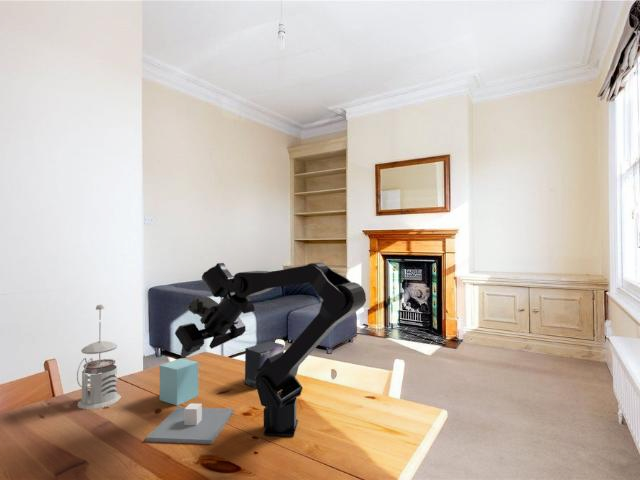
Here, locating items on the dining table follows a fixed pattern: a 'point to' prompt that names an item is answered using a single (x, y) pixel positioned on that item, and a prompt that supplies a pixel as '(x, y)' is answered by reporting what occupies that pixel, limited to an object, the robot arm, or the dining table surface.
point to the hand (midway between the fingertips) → (196, 351)
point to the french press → (98, 376)
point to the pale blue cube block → (178, 381)
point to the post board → (191, 425)
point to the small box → (259, 359)
